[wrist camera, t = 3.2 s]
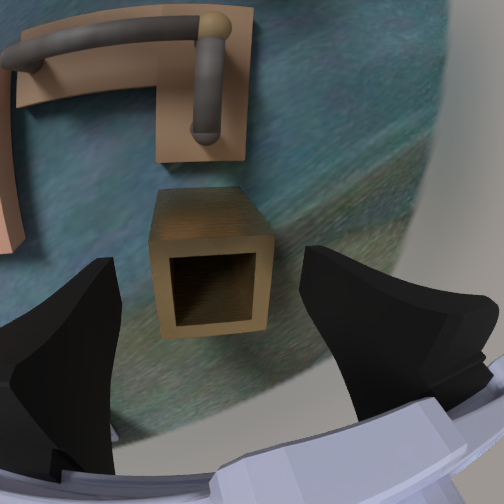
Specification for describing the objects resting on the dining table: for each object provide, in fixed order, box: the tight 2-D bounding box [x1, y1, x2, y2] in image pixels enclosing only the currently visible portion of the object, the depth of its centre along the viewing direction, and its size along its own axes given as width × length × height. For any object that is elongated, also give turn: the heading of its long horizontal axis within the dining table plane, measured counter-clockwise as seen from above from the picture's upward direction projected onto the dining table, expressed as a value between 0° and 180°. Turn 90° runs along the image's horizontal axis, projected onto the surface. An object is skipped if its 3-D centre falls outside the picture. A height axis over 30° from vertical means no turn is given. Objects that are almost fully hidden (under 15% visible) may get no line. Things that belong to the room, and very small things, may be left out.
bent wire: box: [0, 4, 254, 163], centre depth 9 cm, size 8×11×4 cm
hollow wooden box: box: [148, 187, 276, 339], centre depth 13 cm, size 4×4×6 cm
